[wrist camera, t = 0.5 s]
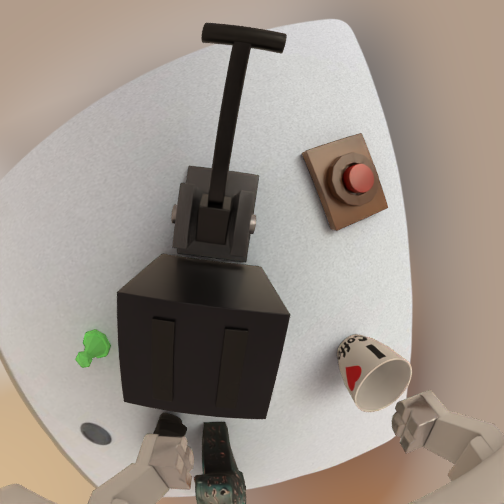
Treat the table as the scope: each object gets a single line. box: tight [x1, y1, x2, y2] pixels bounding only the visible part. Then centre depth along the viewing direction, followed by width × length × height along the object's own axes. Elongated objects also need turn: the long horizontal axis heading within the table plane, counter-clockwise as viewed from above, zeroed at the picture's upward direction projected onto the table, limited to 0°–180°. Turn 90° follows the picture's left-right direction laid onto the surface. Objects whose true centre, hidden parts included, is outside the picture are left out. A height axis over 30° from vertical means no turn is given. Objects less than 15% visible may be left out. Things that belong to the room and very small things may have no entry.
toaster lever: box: [195, 23, 287, 245], centre depth 17 cm, size 15×5×2 cm, turn 172°
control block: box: [302, 133, 388, 231], centre depth 31 cm, size 10×8×4 cm
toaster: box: [117, 254, 290, 419], centre depth 26 cm, size 10×12×15 cm
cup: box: [337, 335, 412, 412], centre depth 32 cm, size 8×8×10 cm
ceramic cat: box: [194, 422, 246, 504], centre depth 28 cm, size 20×6×20 cm, turn 2°
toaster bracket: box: [171, 166, 259, 262], centre depth 25 cm, size 10×8×14 cm
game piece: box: [75, 329, 111, 368], centre depth 30 cm, size 4×4×6 cm
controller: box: [153, 413, 187, 436], centre depth 31 cm, size 4×12×10 cm, turn 157°
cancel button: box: [343, 164, 374, 193], centre depth 29 cm, size 3×3×2 cm
